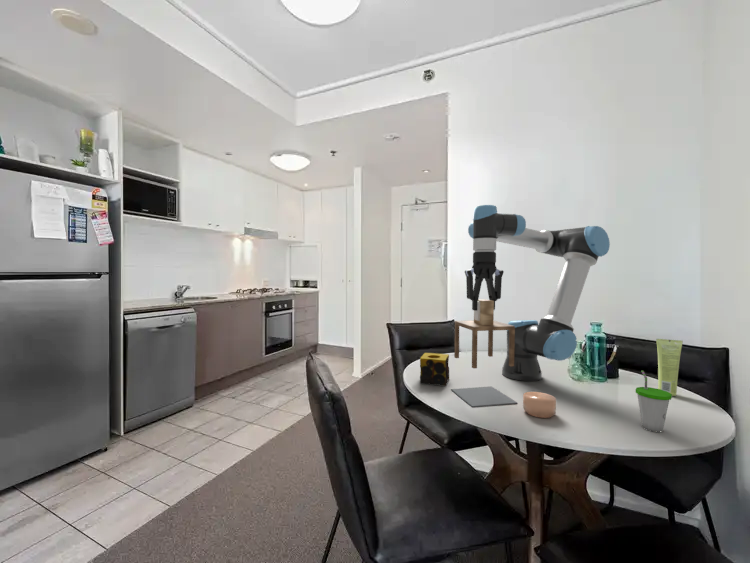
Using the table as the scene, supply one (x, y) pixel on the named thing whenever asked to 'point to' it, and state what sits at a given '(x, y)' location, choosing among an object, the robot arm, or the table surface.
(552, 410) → the peach rounded disc
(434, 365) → the candle
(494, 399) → the mat
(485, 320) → the wooden side table
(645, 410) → the cup
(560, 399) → the table surface
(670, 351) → the tube
